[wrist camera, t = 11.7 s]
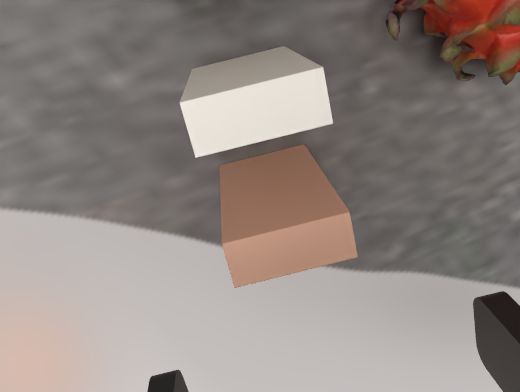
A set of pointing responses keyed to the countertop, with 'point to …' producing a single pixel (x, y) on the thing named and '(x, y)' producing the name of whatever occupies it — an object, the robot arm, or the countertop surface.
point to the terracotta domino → (281, 216)
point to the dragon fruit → (470, 32)
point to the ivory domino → (254, 100)
